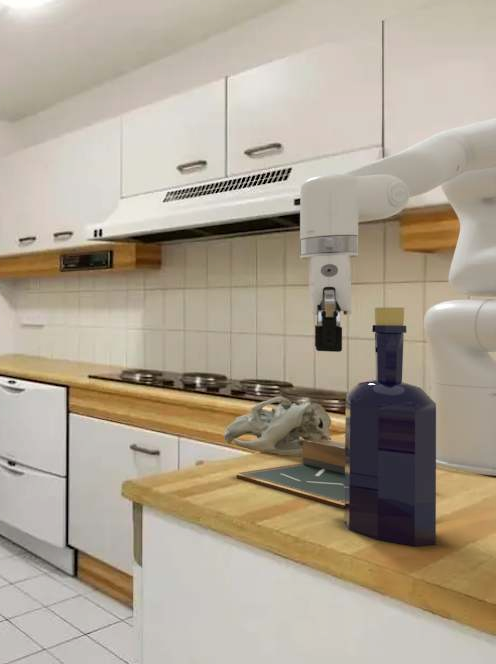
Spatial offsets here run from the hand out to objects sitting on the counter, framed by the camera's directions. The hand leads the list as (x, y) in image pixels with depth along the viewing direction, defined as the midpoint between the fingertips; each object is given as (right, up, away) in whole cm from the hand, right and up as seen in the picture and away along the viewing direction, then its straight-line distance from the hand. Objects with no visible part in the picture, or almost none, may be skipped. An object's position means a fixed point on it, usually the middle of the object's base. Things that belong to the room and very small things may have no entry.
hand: (327, 349), depth 93 cm
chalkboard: (0, -23, -1) cm, 23 cm away
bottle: (-9, -23, -20) cm, 32 cm away
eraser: (+6, -22, +5) cm, 23 cm away
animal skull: (+6, -23, +20) cm, 31 cm away
